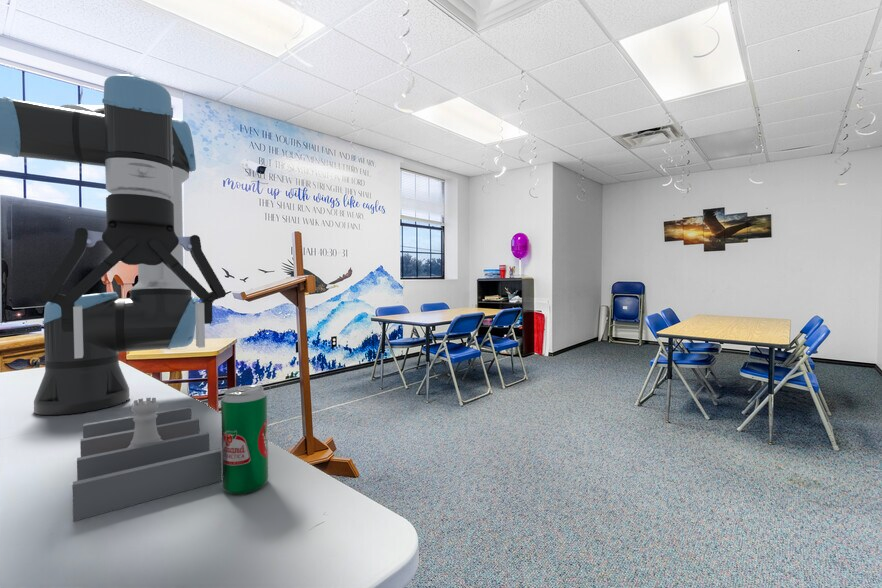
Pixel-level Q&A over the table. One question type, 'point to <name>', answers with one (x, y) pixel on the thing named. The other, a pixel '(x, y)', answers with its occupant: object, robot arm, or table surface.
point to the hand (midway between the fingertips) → (144, 351)
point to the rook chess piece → (145, 422)
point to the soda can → (244, 439)
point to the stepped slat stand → (141, 463)
